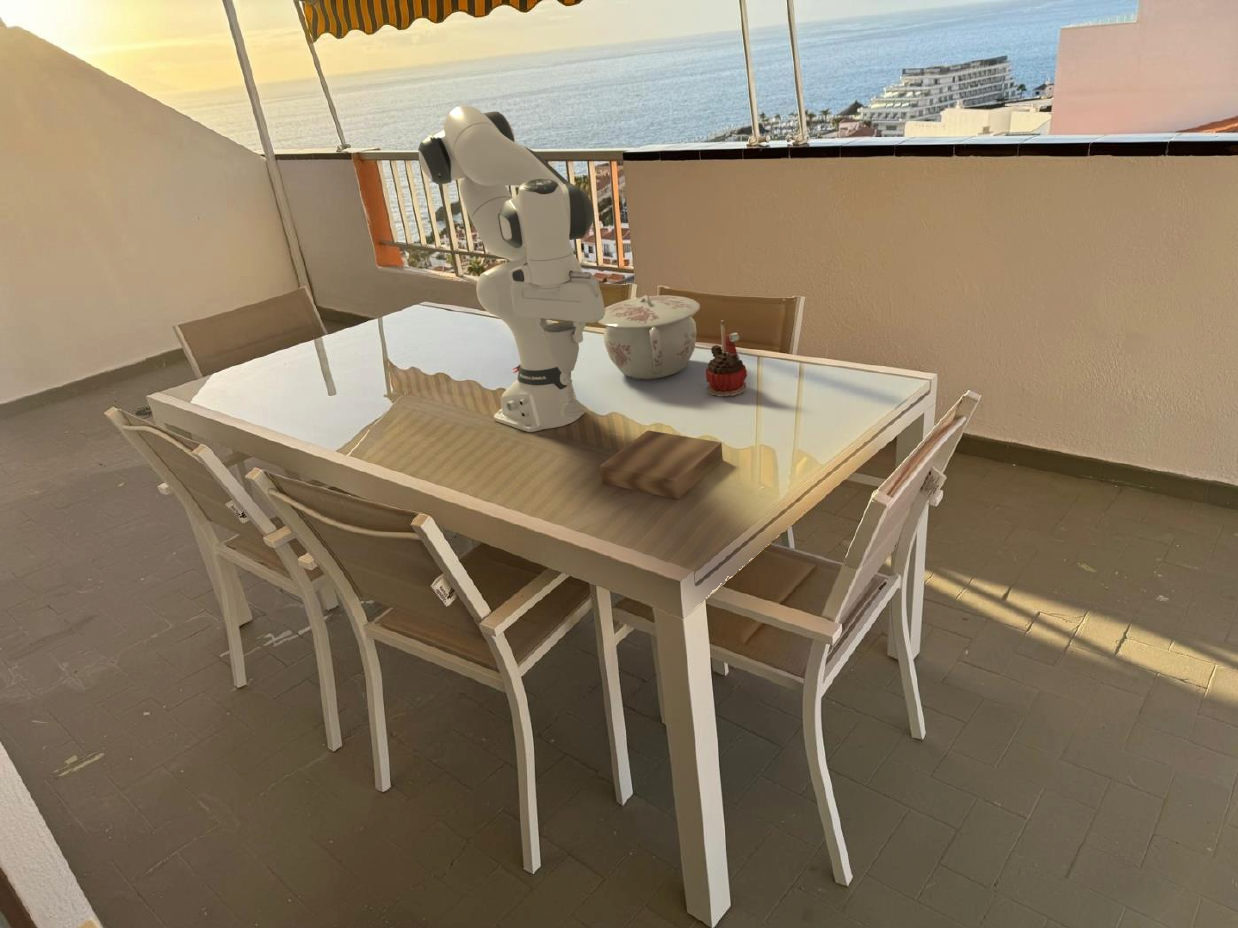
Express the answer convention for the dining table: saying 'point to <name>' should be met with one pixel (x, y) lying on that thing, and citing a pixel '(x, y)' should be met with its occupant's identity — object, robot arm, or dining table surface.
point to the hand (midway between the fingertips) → (563, 340)
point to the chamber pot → (650, 335)
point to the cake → (726, 367)
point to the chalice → (565, 361)
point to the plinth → (662, 464)
